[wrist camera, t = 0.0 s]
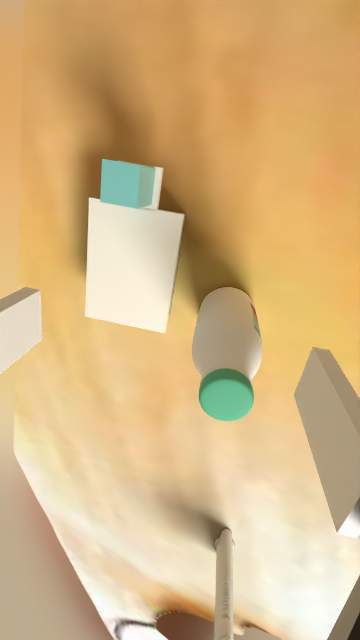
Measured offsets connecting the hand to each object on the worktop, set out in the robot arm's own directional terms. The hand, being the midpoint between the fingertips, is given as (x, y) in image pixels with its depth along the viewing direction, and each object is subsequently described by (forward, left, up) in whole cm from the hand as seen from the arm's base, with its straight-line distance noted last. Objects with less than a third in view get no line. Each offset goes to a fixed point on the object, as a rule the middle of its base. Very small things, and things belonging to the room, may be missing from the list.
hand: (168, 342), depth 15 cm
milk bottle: (+9, +5, -28) cm, 30 cm away
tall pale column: (+60, +16, -28) cm, 68 cm away
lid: (+2, -8, -23) cm, 25 cm away
